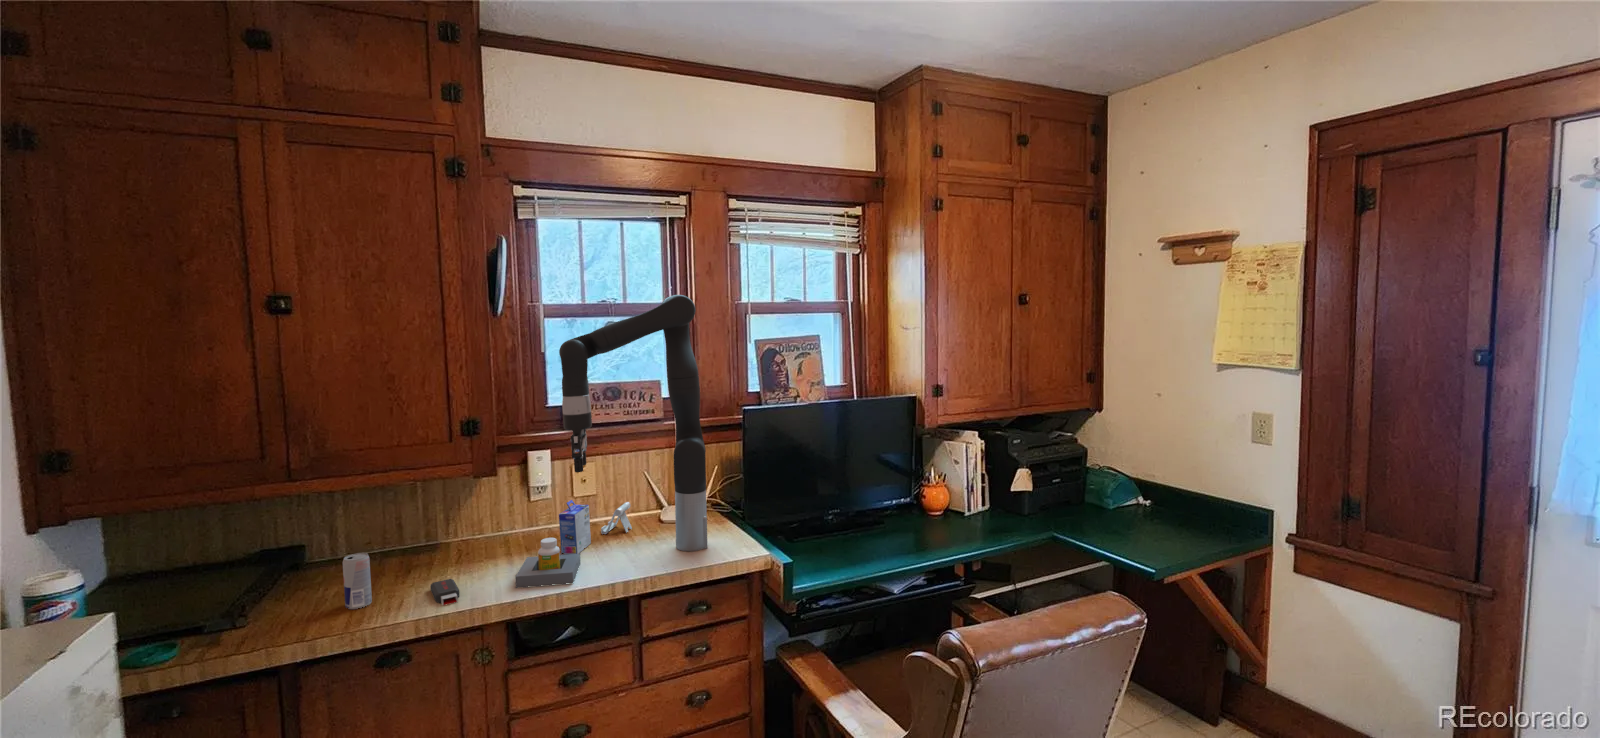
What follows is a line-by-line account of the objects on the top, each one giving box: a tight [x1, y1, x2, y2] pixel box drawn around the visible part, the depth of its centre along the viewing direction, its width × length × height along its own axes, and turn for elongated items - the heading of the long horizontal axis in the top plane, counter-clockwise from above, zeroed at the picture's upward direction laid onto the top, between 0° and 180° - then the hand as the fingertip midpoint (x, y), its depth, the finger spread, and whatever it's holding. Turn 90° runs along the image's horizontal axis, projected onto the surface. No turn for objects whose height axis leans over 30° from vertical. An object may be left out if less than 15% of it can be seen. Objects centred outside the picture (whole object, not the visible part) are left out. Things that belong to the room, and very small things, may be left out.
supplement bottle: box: [537, 537, 561, 570], centre depth 177 cm, size 5×5×10 cm
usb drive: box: [430, 578, 460, 606], centre depth 165 cm, size 5×12×3 cm, turn 37°
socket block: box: [515, 553, 581, 589], centre depth 177 cm, size 14×14×3 cm
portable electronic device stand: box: [600, 501, 633, 535], centre depth 214 cm, size 9×8×8 cm
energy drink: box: [342, 552, 373, 610], centre depth 159 cm, size 5×5×12 cm
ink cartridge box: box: [558, 499, 592, 555], centre depth 197 cm, size 10×6×14 cm, turn 174°
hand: (580, 468), depth 186 cm, fingers open, 8 cm apart
